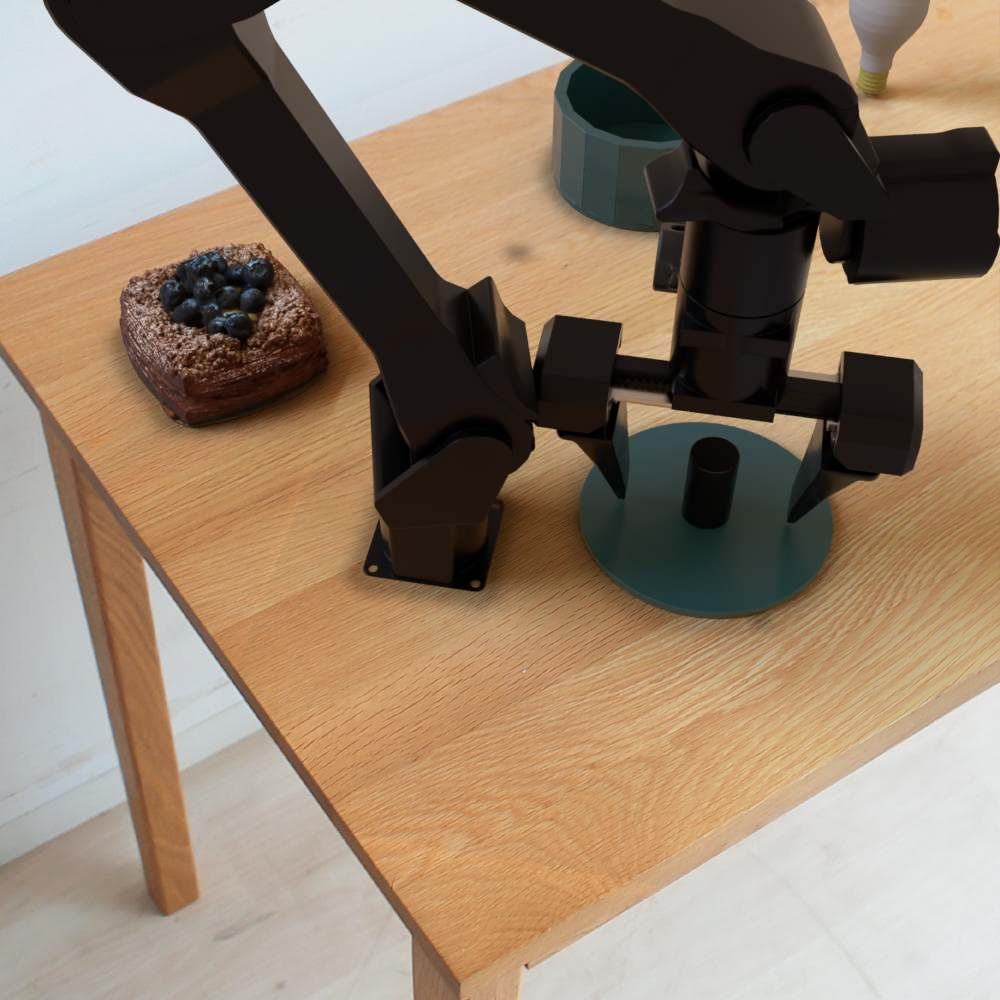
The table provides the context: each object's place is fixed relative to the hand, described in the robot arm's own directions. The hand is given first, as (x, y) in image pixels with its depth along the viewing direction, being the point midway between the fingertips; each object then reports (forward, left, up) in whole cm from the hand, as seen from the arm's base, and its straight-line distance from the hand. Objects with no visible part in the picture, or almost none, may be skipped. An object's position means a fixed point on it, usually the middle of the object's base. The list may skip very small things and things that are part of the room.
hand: (706, 504), depth 77 cm
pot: (+31, +7, -2) cm, 32 cm away
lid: (0, 0, -1) cm, 1 cm away
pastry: (+8, +30, -2) cm, 31 cm away
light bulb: (+44, -8, -2) cm, 45 cm away
